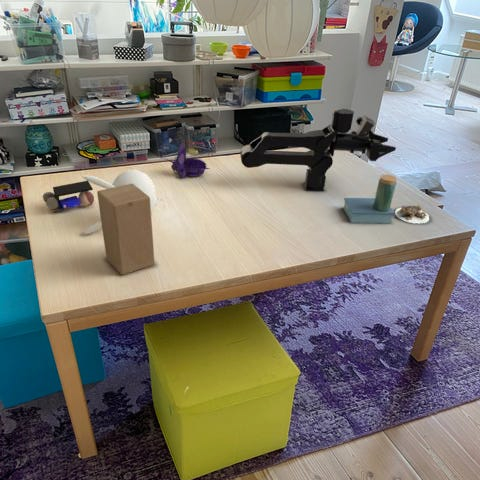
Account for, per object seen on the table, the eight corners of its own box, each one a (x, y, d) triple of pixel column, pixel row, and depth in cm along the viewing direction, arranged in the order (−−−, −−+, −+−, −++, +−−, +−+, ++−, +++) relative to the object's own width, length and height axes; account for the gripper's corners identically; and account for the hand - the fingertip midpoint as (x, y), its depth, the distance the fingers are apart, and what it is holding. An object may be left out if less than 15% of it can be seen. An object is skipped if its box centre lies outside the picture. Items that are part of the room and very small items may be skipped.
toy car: (51, 220, 156) (98, 207, 161) (44, 198, 151) (92, 185, 156) (47, 211, 161) (92, 199, 166) (39, 189, 156) (86, 177, 161)
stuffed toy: (155, 161, 153) (73, 162, 140) (174, 180, 144) (88, 184, 132) (150, 216, 164) (73, 222, 152) (166, 237, 156) (87, 245, 143)
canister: (375, 211, 160) (382, 180, 154) (370, 204, 164) (377, 174, 158) (391, 212, 161) (399, 181, 154) (386, 204, 165) (394, 174, 158)
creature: (161, 172, 187) (159, 139, 180) (207, 168, 192) (207, 136, 185) (166, 181, 181) (164, 147, 173) (213, 177, 186) (214, 144, 178)
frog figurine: (410, 226, 161) (413, 215, 159) (386, 211, 170) (389, 200, 167) (437, 221, 166) (440, 210, 163) (412, 206, 174) (415, 195, 172)
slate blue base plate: (350, 223, 161) (352, 212, 159) (342, 208, 170) (344, 197, 168) (391, 223, 163) (394, 212, 160) (381, 208, 171) (384, 198, 169)
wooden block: (155, 265, 136) (150, 196, 124) (121, 276, 131) (112, 205, 119) (138, 249, 142) (132, 182, 130) (105, 259, 137) (96, 190, 125)
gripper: (359, 126, 161) (406, 129, 162) (346, 110, 175) (389, 112, 176) (352, 160, 167) (397, 162, 169) (340, 142, 182) (382, 143, 183)
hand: (391, 144), depth 174 cm, fingers open, 9 cm apart
